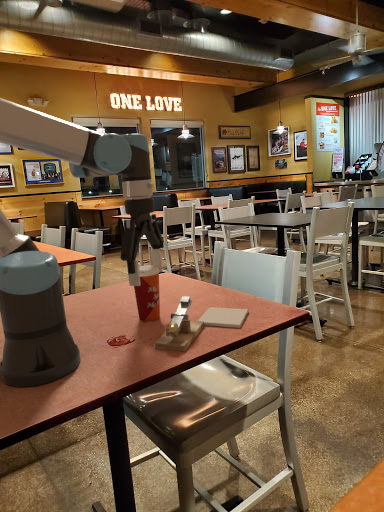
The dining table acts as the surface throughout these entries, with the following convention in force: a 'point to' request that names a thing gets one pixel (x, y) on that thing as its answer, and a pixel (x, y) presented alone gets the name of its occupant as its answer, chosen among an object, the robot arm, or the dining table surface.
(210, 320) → the tile
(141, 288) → the paper cup
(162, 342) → the lever base
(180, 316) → the lever
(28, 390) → the dining table surface
